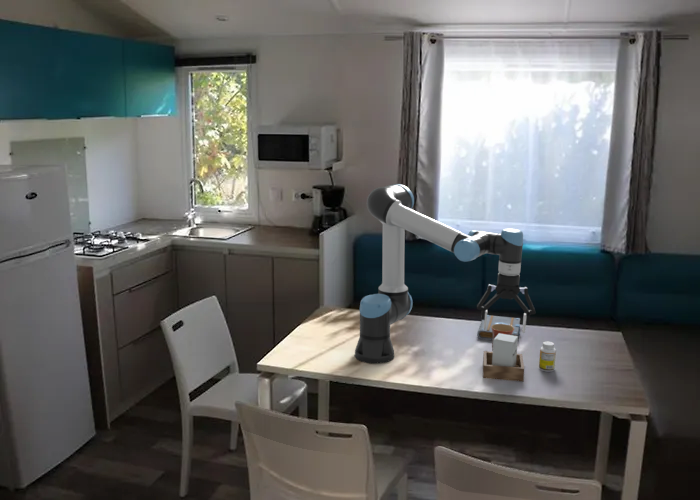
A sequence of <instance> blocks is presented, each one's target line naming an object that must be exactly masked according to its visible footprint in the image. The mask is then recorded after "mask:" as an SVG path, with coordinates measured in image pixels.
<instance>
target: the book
mask: <svg viewBox="0 0 700 500" xmlns="http://www.w3.org/2000/svg"><path fill="white" fill-rule="evenodd" d="M480 321H481V322H480V325H479V328H478V330H477V333H476V334H477V337H478V339H479V340H485V341H492V338H493V333H492V328H491V326H492V325H495V324H506V325H510V326H512V327H514V331H513V334H512V335H513V336H518V337H519V336H520V333H521V324H520V323H521V318H520V317H509V316H501V315H500V316H498V315H489V314H487V323H486V330H484V320H482V319H481V320H480Z"/></svg>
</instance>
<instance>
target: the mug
mask: <svg viewBox="0 0 700 500" xmlns="http://www.w3.org/2000/svg"><path fill="white" fill-rule="evenodd" d="M491 328H492V333H493V338H492V340H491V352H493V341H494V338H495V337H496V336H497V335H498V334H499V333H500V334H506V335H512V334H513V331H514V327H512V326H510V325H506V324H495V325H492V326H491Z"/></svg>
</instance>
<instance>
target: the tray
mask: <svg viewBox="0 0 700 500" xmlns="http://www.w3.org/2000/svg"><path fill="white" fill-rule="evenodd" d="M492 356H493V351H486V350H484V351H483V356H482V357H483V358H482V379H490V380H498V381H499V380H501V381H502V380H503V381H511V382H524V381H525V380H524V379H525V364H524V363H525V362H524V357H523V354H522V353H517V358H516V367H508V366H496V365H492Z"/></svg>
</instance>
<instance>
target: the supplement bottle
mask: <svg viewBox="0 0 700 500" xmlns="http://www.w3.org/2000/svg"><path fill="white" fill-rule="evenodd" d="M556 354H557V349H556V348H555V343H554V342H552V341H548V340H547V341H543V342H542V346H541V347H540V350H539V361H538V364H539V365H538V369H539V370H540V371H542V372H547V373H550V372H554V371H555V366H556V356H557V355H556Z"/></svg>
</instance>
